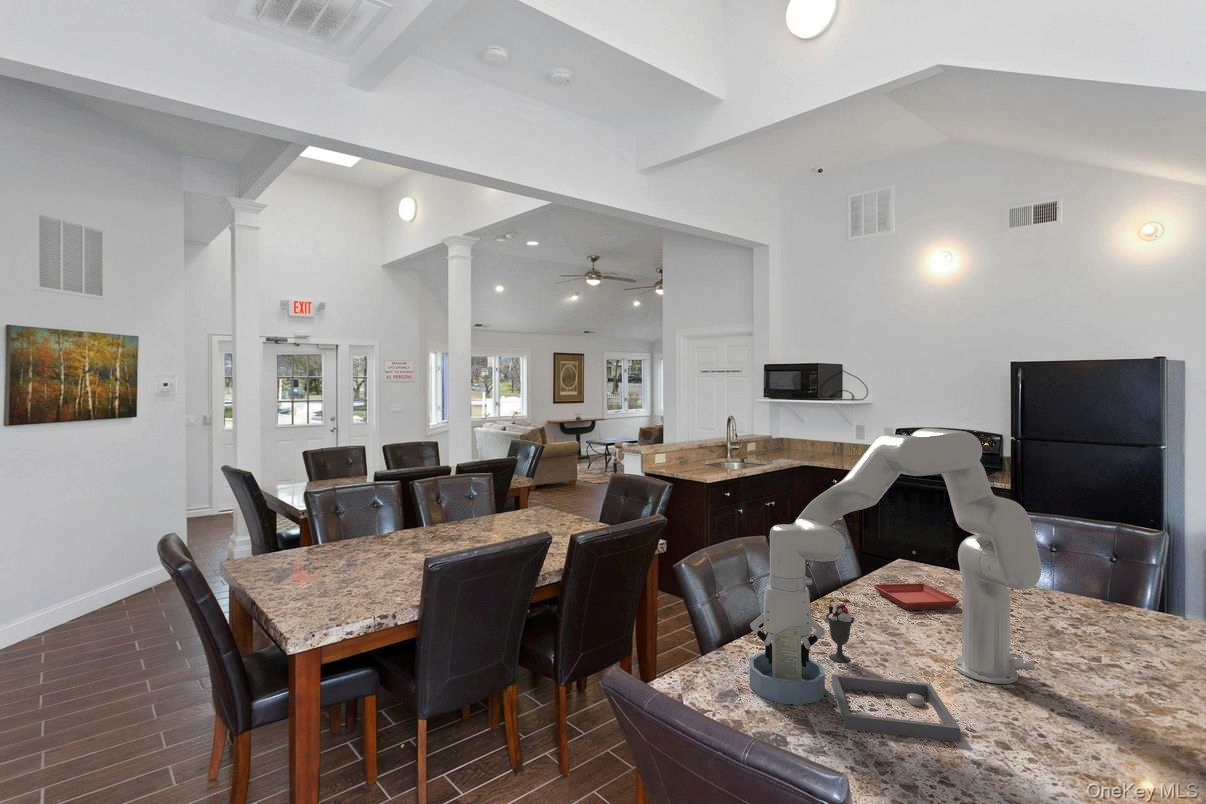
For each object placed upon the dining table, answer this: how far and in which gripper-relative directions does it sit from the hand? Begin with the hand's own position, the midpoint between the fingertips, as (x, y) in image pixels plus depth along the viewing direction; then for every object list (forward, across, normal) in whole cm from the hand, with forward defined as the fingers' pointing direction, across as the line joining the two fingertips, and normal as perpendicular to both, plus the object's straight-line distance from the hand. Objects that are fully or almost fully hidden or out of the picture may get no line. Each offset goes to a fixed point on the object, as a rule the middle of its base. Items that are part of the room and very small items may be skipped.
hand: (786, 662), depth 134 cm
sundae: (+6, -14, -18) cm, 23 cm away
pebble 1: (+6, -14, +12) cm, 19 cm away
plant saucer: (+6, -44, -68) cm, 81 cm away
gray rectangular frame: (+5, -20, +6) cm, 22 cm away
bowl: (+5, 0, 0) cm, 5 cm away
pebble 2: (+6, -26, +1) cm, 27 cm away
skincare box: (+3, 0, 0) cm, 3 cm away
